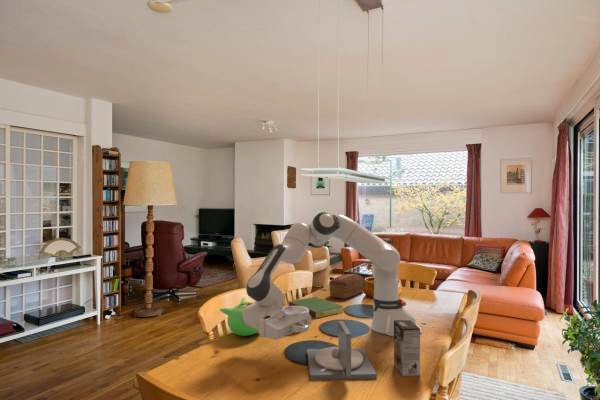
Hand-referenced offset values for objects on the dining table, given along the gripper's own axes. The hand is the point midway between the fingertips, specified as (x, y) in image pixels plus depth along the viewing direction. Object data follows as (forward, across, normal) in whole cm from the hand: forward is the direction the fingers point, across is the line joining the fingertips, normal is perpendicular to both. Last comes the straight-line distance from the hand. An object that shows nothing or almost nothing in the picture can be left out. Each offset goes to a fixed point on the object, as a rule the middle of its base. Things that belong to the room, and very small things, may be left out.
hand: (306, 329), depth 133 cm
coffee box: (+28, -20, -15) cm, 38 cm away
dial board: (+7, -9, -14) cm, 18 cm away
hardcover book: (-40, -60, -15) cm, 74 cm away
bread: (-44, -100, -15) cm, 111 cm away
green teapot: (-42, -11, -14) cm, 46 cm away
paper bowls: (-32, -32, -14) cm, 48 cm away
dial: (+10, -7, -12) cm, 17 cm away
